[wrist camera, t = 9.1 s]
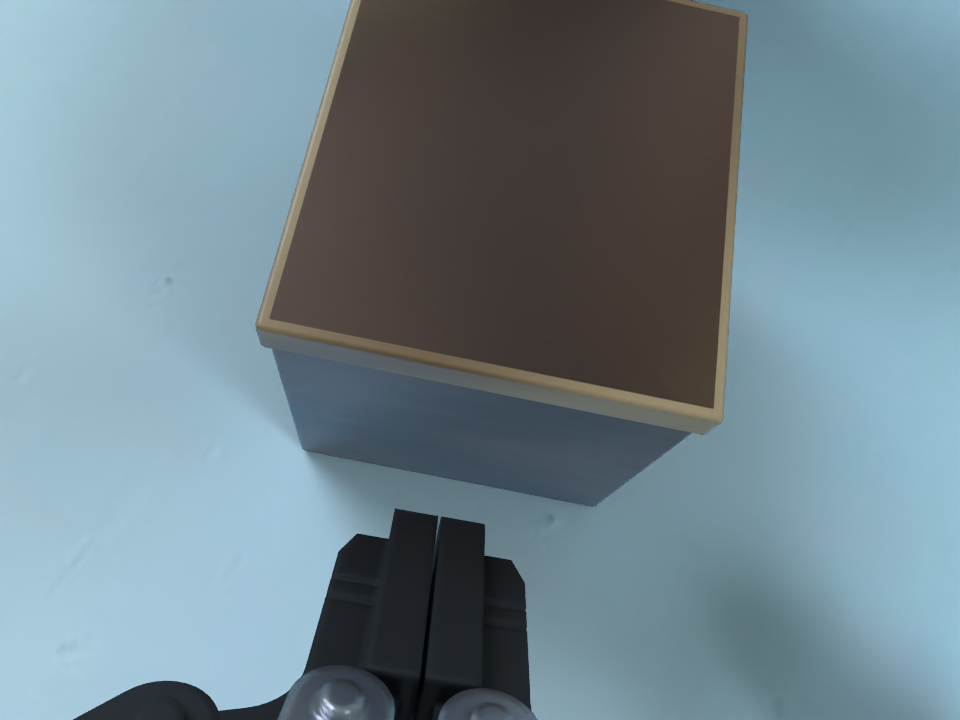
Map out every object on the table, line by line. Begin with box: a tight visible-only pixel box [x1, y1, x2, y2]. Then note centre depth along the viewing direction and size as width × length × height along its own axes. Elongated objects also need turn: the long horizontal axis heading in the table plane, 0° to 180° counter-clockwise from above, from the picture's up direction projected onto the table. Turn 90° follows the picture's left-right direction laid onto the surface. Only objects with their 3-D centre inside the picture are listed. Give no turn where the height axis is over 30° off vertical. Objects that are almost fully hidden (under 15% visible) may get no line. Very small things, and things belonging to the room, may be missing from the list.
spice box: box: [255, 0, 748, 506], centre depth 17 cm, size 7×8×8 cm
